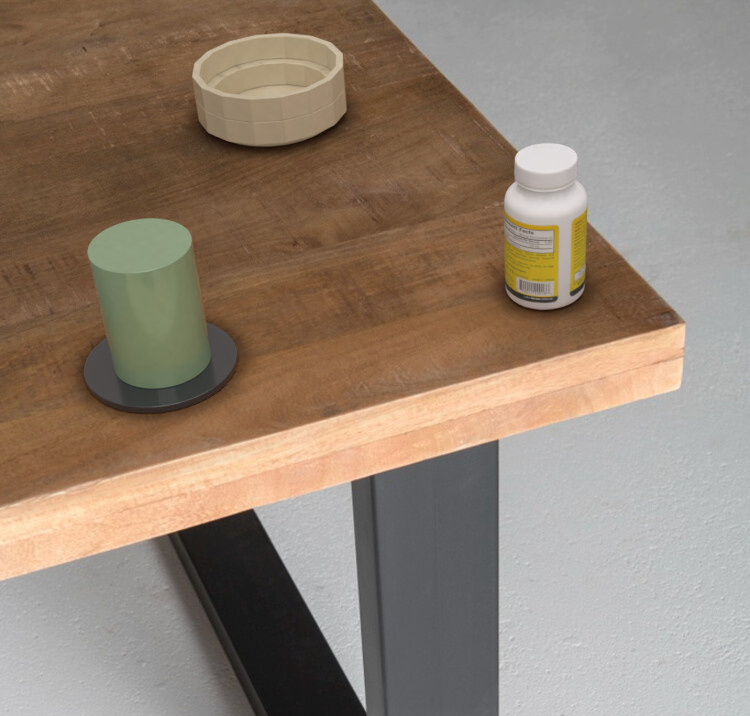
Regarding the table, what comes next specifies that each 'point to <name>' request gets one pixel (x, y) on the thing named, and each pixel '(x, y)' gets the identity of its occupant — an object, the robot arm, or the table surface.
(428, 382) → the table surface
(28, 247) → the table surface
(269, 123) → the cream bowl
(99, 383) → the slate coaster
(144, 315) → the sage green cylinder
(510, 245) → the supplement bottle
